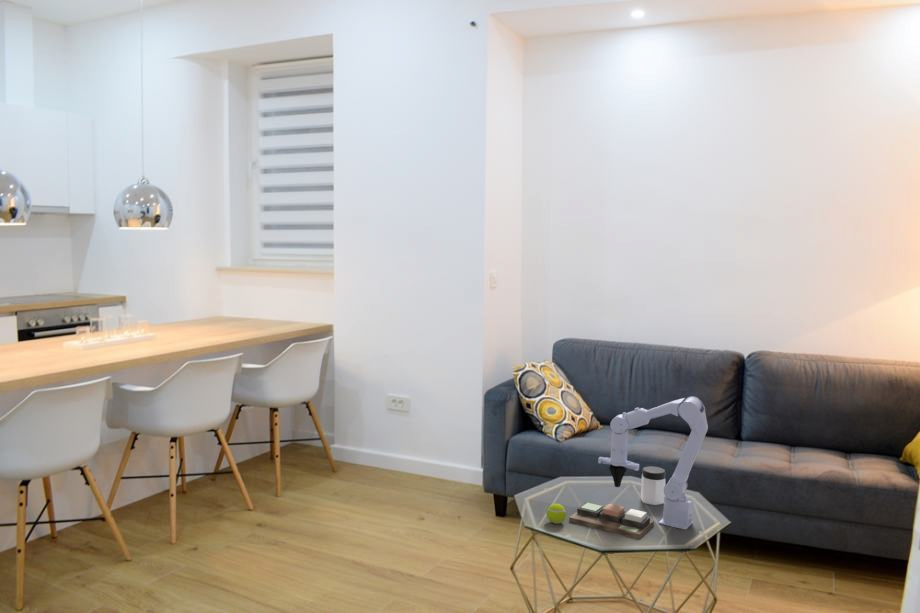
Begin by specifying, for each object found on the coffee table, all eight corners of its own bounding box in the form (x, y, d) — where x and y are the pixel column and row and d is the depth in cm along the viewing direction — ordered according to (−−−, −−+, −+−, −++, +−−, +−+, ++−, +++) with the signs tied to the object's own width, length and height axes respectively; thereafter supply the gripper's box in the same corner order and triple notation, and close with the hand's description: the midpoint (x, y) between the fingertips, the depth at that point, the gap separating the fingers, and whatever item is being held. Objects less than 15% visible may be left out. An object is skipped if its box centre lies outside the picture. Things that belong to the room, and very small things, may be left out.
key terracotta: (624, 512, 268) (624, 507, 267) (618, 517, 263) (618, 512, 263) (608, 509, 271) (608, 503, 270) (602, 514, 266) (602, 508, 266)
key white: (646, 518, 263) (646, 512, 263) (640, 523, 259) (641, 517, 258) (630, 514, 266) (631, 508, 266) (624, 519, 262) (625, 513, 261)
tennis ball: (558, 528, 260) (559, 509, 259) (542, 523, 265) (542, 504, 264) (569, 523, 265) (570, 504, 264) (553, 517, 270) (554, 499, 269)
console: (653, 525, 265) (654, 515, 265) (639, 538, 253) (639, 529, 253) (585, 509, 278) (586, 500, 278) (569, 521, 267) (569, 512, 266)
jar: (638, 496, 292) (640, 465, 291) (660, 497, 292) (662, 466, 291) (643, 505, 283) (645, 473, 282) (666, 506, 283) (667, 474, 282)
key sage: (602, 511, 272) (602, 506, 272) (595, 516, 267) (595, 510, 267) (587, 508, 275) (587, 502, 275) (580, 512, 270) (580, 507, 270)
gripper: (595, 447, 274) (593, 485, 276) (635, 455, 266) (633, 493, 268) (603, 443, 280) (601, 479, 282) (642, 450, 272) (640, 487, 274)
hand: (617, 486), depth 275 cm, fingers closed
